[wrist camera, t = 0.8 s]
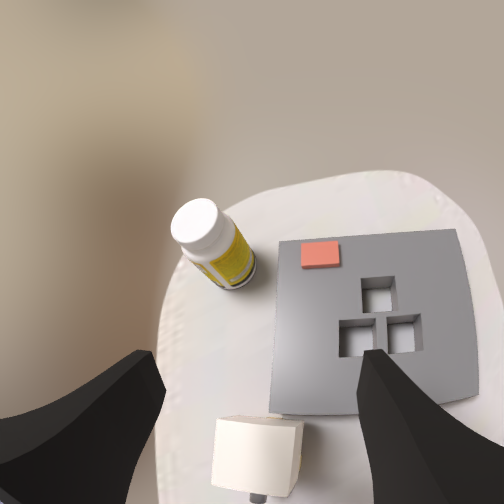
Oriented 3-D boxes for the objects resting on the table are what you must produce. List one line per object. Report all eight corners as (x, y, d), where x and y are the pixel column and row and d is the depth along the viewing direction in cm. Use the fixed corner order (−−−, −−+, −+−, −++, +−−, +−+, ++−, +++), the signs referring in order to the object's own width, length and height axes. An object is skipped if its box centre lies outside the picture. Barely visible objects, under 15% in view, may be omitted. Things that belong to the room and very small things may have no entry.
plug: (298, 492, 15) (284, 519, 10) (239, 484, 17) (209, 506, 12) (306, 417, 18) (295, 427, 14) (245, 413, 20) (216, 418, 15)
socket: (465, 395, 15) (481, 394, 12) (276, 410, 19) (266, 413, 17) (447, 242, 21) (457, 224, 19) (284, 254, 26) (277, 237, 23)
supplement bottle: (259, 244, 27) (227, 189, 20) (255, 289, 25) (218, 244, 18) (214, 248, 29) (173, 199, 22) (208, 291, 27) (159, 250, 20)
